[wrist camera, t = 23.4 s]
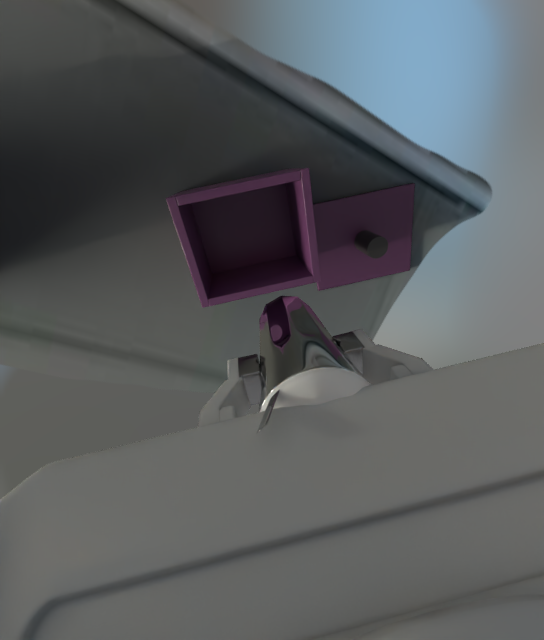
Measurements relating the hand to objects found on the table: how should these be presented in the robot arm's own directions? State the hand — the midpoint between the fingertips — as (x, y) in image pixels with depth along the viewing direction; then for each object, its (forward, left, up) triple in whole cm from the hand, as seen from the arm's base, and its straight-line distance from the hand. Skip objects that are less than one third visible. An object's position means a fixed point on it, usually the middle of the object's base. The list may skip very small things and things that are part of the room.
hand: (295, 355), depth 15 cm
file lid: (+14, -2, -25) cm, 28 cm away
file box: (-1, +2, -25) cm, 25 cm away
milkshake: (0, 0, -4) cm, 4 cm away
